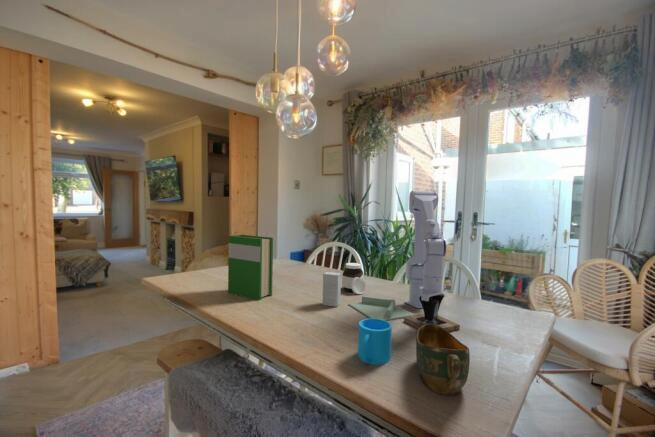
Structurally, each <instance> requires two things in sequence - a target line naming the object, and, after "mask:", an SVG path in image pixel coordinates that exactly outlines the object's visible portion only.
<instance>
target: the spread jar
mask: <svg viewBox="0 0 655 437" xmlns="http://www.w3.org/2000/svg"><path fill="white" fill-rule="evenodd" d="M341 287H342V289H343V290H345V291H346V292H350V293H354V294H356V295H362V294H364V293H365V292H366V290H367V283H366V281H365V280H364V271H363V269H362V264H361V263H358V262H357V263H356V262H348V263H347V262H346V263H345V268H344V270H343V271H342V274H341Z"/></svg>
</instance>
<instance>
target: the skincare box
mask: <svg viewBox="0 0 655 437" xmlns="http://www.w3.org/2000/svg"><path fill="white" fill-rule="evenodd" d="M341 287H342V274H341V272H332V271H331V272H330V271H326V272H324V273H323V274H322V306H326V307H327V306H329V307H335V308H337V307H339V306H340V305H341V295H342V294H341Z"/></svg>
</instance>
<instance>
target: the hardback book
mask: <svg viewBox="0 0 655 437" xmlns="http://www.w3.org/2000/svg"><path fill="white" fill-rule="evenodd" d="M273 258H274V238H273V237H269V236H261V235H260V236H259V235H249V234H235V235H229V236H228V258H227V259H228V265H227V266H228V274H227V275H228V277H227V280H228V281H227V285H228V286H227V293H228V292H229V293H228V294H231V293H233V294H232V295H235V294H237V295H236V296H239V295H241V296H240V297H243V296H244V298H248V299H253V300H257V301H261V300H262V298H264V297H265V296H267V295H268V297H272V296H273V271H274V270H273V268H274V266H273V265H274V263H273V262H274V261H273V260H274V259H273Z"/></svg>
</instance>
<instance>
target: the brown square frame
mask: <svg viewBox="0 0 655 437" xmlns="http://www.w3.org/2000/svg"><path fill="white" fill-rule="evenodd" d="M424 321H425V316H424V313H420V314H415V315H412V316H406V317H404V318H403V322H404V323H406V324H408V325H410V326H412V327H413V328H416V329H417V330H418V329H419V328H420V327H421V326H422V325H424V324H425V323H424ZM437 326H440V327H442V328H444V329H445V330H447V331H448V332H449V333H451V332H454V331H458V330H460V328H461V325H460V324H459V323H456V322H455V321H453V320H450V319H447V318H446V317H443V316H441V315H439V314H438V325H437Z"/></svg>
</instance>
